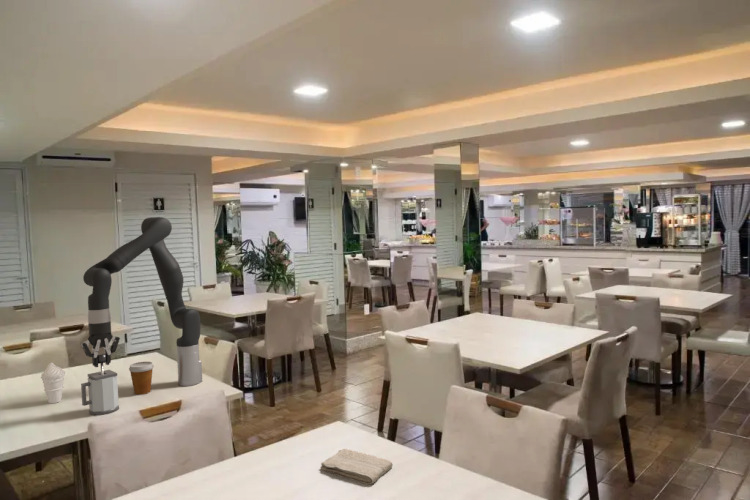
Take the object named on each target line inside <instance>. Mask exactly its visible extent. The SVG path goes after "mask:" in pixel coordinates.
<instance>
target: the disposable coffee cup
mask: <svg viewBox="0 0 750 500" xmlns="http://www.w3.org/2000/svg"><path fill="white" fill-rule="evenodd" d="M153 368H154V364H153V362H151V361H138V362H134V363H131V364H130V365H129V368H128V370H129V372H130V376H131V377H130V378H131V381H132V386H133V388H132V389H133V393H134V395H137V396H140V395H142V396H143V395H146V394H149V393H151V391H152V378H153Z"/></svg>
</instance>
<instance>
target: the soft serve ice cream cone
mask: <svg viewBox="0 0 750 500" xmlns="http://www.w3.org/2000/svg"><path fill="white" fill-rule="evenodd" d="M65 375H66V372H65V370H64V369H63V368H62V367H60V366H58V365H55V364H54V362H50V363H48V364H47V366H46V369H45V370H44V371H43V372H42V373H41V376H40V379H41V381H42V383H43V388H44V390H43V391H44V393H45V395H46V398H47V402H48V404H51V403H52V404H58V403H60V402H61V401H62V395H63V391H64V380H65ZM57 402H58V403H57Z"/></svg>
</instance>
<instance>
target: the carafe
mask: <svg viewBox="0 0 750 500" xmlns="http://www.w3.org/2000/svg"><path fill="white" fill-rule="evenodd" d="M118 383H119V382H118V372H116V371H113V370H111V369H106V370H104V374H103V375H101V371H96V372H92V373H87V382H83V383H80V387H81V389H80V390H81V403H82V406H84V407H85V406H87V405H88V407H89V408H88V409H89V414H90V415H92V416H102V415H108V414H113V413H115V412H117V411H118V410H119V409H120V407H119V406H120V404H119V387H118V385H119V384H118ZM87 390H88V391H87ZM87 392H88V400H87Z"/></svg>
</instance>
